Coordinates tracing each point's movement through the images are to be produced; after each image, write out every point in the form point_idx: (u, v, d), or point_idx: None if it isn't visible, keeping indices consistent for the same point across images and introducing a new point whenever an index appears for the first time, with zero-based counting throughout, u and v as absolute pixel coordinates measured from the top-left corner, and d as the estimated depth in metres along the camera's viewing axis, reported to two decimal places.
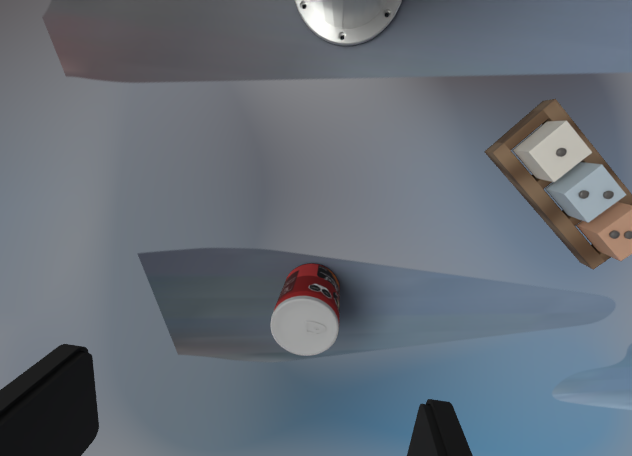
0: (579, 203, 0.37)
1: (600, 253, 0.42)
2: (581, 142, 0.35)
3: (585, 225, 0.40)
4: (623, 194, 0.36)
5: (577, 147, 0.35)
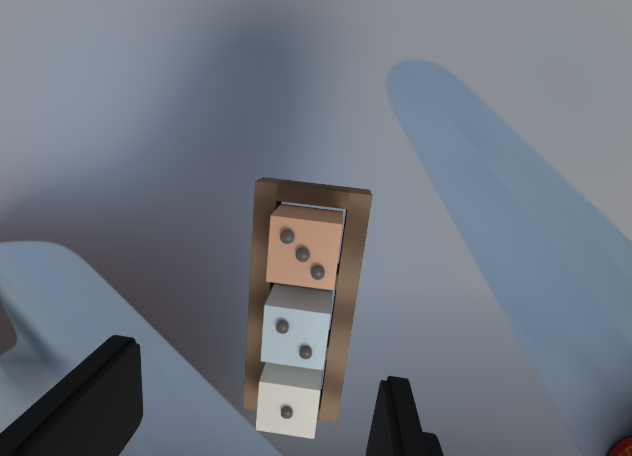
0: (318, 344, 0.23)
1: (344, 208, 0.24)
2: (260, 400, 0.25)
3: None
4: (267, 308, 0.23)
5: (268, 399, 0.25)
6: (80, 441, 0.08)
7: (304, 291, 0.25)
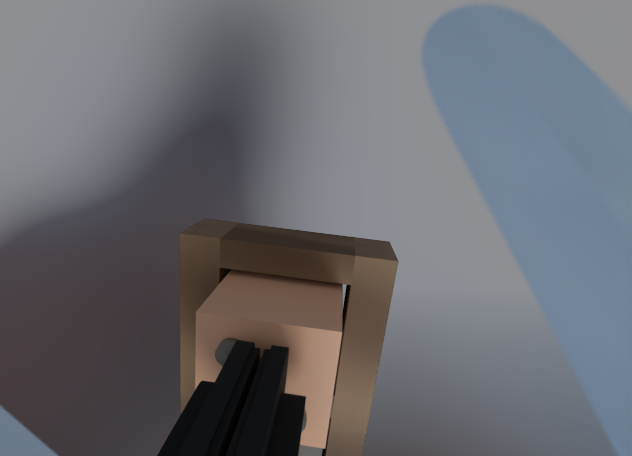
0: None
1: (345, 282, 0.13)
2: None
3: None
4: None
5: None
6: None
7: None
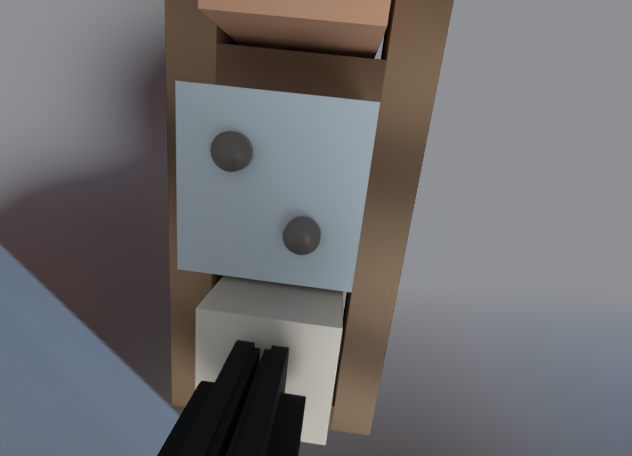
0: (339, 212, 0.08)
1: None
2: (201, 355, 0.11)
3: (361, 50, 0.10)
4: (183, 92, 0.07)
5: (219, 352, 0.11)
6: None
7: None
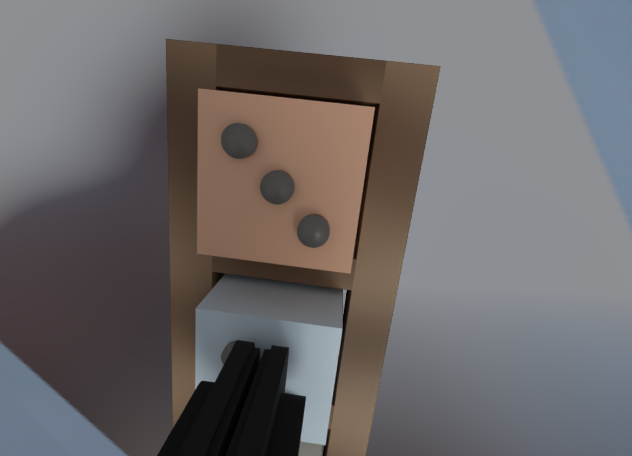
0: (315, 393, 0.11)
1: (372, 102, 0.10)
2: None
3: None
4: (201, 315, 0.10)
5: None
6: None
7: None
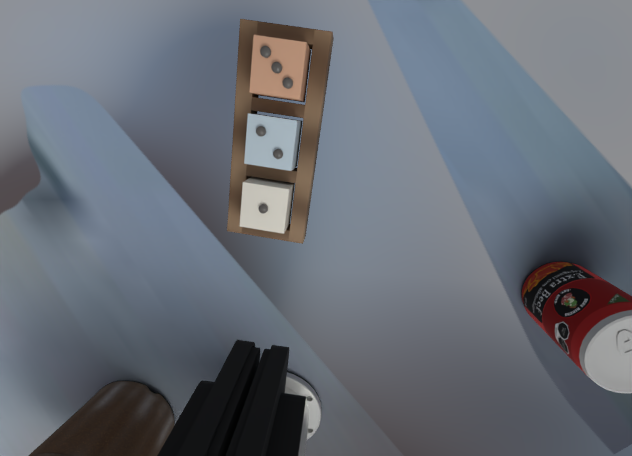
0: (287, 148, 0.31)
1: (310, 43, 0.30)
2: (243, 199, 0.33)
3: (298, 100, 0.32)
4: (249, 116, 0.30)
5: (249, 198, 0.33)
6: None
7: None
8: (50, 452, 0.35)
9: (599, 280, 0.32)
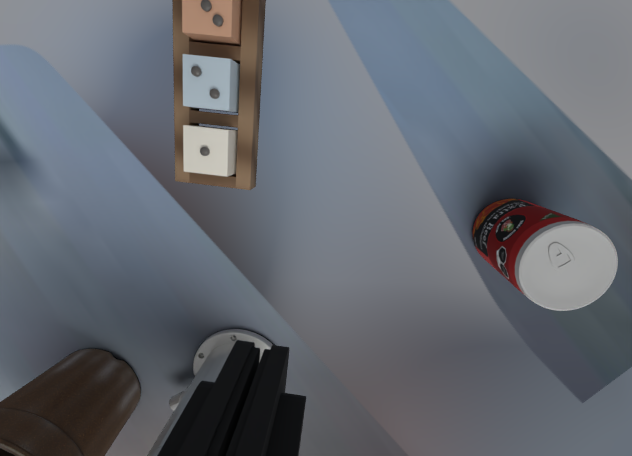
0: (223, 87, 0.32)
1: None
2: (185, 142, 0.33)
3: (234, 43, 0.33)
4: (184, 56, 0.31)
5: (190, 141, 0.33)
6: None
7: None
8: (2, 408, 0.35)
9: (538, 207, 0.32)
